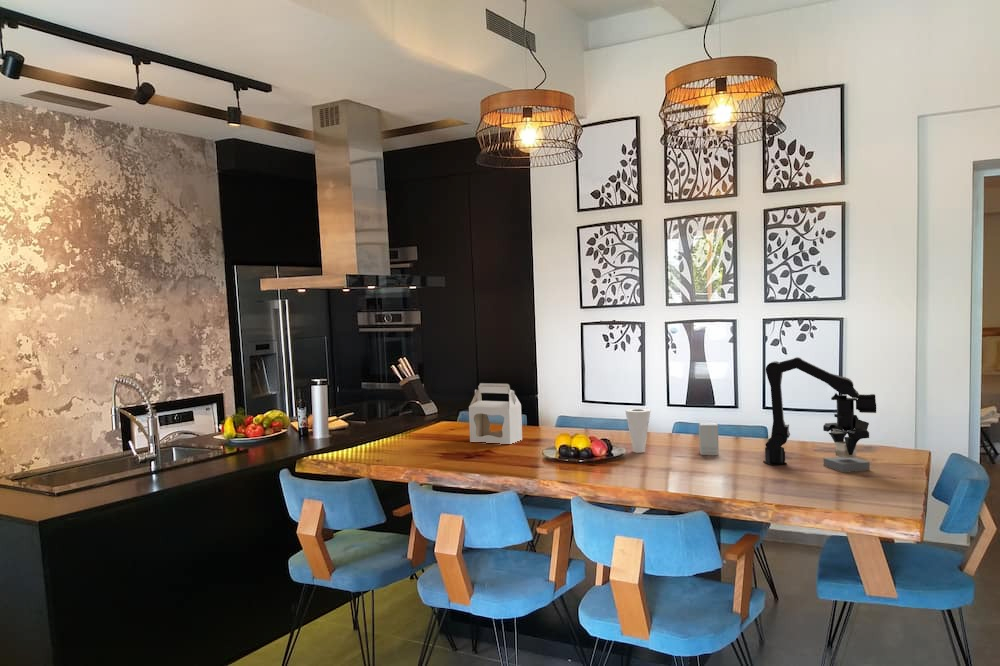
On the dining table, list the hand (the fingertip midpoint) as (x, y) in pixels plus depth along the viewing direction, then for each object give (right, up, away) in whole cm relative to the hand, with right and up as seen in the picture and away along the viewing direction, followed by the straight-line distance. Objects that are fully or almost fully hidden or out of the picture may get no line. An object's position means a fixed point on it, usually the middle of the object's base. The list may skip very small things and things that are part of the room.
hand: (845, 453), depth 263 cm
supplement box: (-41, -6, +33) cm, 53 cm away
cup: (-69, -7, +42) cm, 81 cm away
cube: (0, -1, 0) cm, 1 cm away
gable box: (-131, -7, +76) cm, 152 cm away
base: (0, -6, 0) cm, 6 cm away
